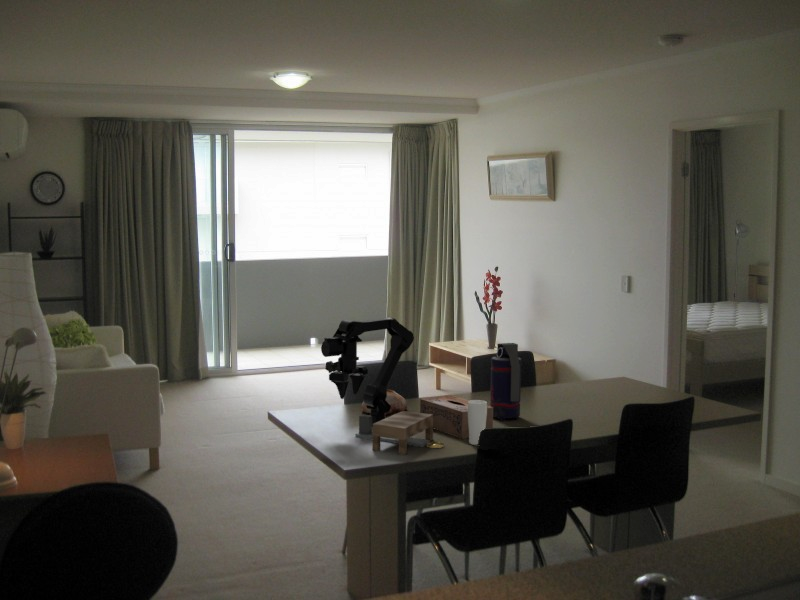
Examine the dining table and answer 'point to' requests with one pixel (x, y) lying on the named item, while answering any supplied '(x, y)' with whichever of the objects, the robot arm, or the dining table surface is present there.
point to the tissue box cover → (451, 414)
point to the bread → (391, 403)
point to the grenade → (506, 382)
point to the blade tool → (367, 433)
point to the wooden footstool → (402, 428)
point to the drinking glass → (476, 419)
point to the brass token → (435, 444)
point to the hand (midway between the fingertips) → (348, 396)
